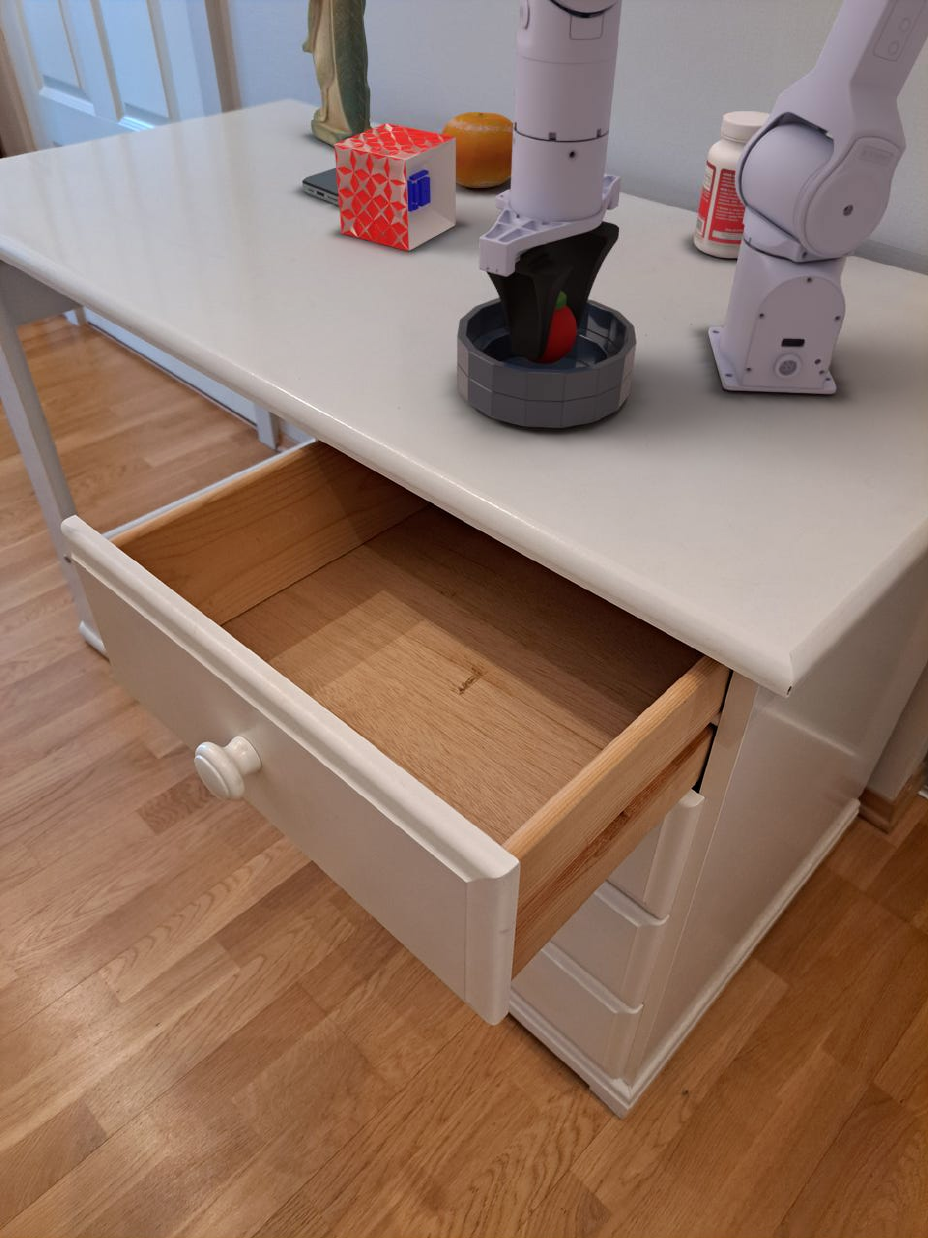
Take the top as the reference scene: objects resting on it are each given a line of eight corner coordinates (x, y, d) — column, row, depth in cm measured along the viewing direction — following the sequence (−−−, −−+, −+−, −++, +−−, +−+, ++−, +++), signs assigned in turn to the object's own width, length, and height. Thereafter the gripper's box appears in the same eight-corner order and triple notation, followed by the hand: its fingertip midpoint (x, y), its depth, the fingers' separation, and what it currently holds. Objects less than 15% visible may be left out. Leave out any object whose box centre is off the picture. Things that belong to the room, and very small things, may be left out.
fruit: (530, 134, 100) (498, 71, 94) (535, 189, 96) (501, 127, 90) (461, 167, 104) (426, 109, 97) (463, 221, 100) (426, 164, 94)
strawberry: (574, 376, 63) (581, 311, 60) (510, 374, 64) (513, 308, 60) (573, 347, 67) (579, 283, 63) (512, 344, 67) (515, 281, 64)
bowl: (632, 437, 62) (642, 376, 59) (451, 430, 62) (451, 369, 59) (622, 352, 71) (629, 295, 68) (464, 346, 71) (464, 290, 68)
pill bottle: (773, 251, 86) (804, 120, 78) (726, 265, 83) (753, 131, 76) (725, 230, 89) (750, 103, 82) (678, 243, 87) (699, 113, 79)
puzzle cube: (390, 208, 93) (386, 122, 88) (455, 224, 90) (455, 136, 85) (341, 233, 88) (333, 144, 83) (408, 251, 85) (405, 159, 80)
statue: (346, 126, 114) (327, -134, 97) (387, 142, 110) (375, -128, 92) (299, 137, 111) (271, -131, 94) (340, 153, 106) (319, -125, 89)
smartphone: (296, 178, 96) (403, 142, 104) (299, 195, 97) (404, 158, 105) (342, 196, 92) (450, 158, 100) (344, 213, 93) (451, 174, 101)
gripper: (562, 91, 61) (547, 291, 70) (435, 146, 52) (438, 367, 61) (659, 108, 58) (631, 315, 67) (543, 169, 49) (529, 397, 59)
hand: (545, 342), depth 64 cm, fingers closed on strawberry, 4 cm apart
